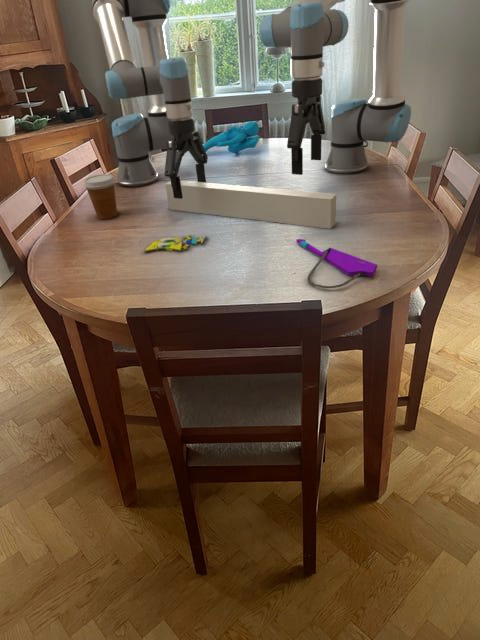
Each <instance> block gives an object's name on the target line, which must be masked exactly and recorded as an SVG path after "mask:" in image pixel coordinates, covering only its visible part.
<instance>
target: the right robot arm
mask: <svg viewBox="0 0 480 640" xmlns="http://www.w3.org/2000/svg"><path fill="white" fill-rule="evenodd" d="M345 1H346V0H294V1H293V2H292V3H290V4H289V5H288V6H287V7H285V9H283V10H282V11H281V12H279V13H277V14H275V13H272V14H268V15H265V16H264V17H263V18H262V19H261V22H260V24H259V31H258V32H259V38H260V41H261V44H262V45H263V46H264V47H265V48H268V49H276V50H277V49H285V48H286V49H287V48H290V77H291V78H292V81H290V82H291V85H290V87H291V88H290V89H291V97H292V98H296V99H297V104H291V116H290V122H289V123H290V124H289V128H288V129H289V130H288V138H287V143H286V148H287V149H290V151H291V152H290V153H291V175H297V176H302V175H303V174H304V172H303V171H304V168H303V167H304V163H303V162H304V160H303V159H304V158H303V156H304V155H303V153H304V152H303V150H304V149H303V147H302V144H303V140H304V136H305V131H306V129H307V128H306V127H307V124H308V125H309V127H310V130H311V133H312V134H311V135H310V160H311V161H321V160H322V135H325V134H326V127H325V120H324V114H323V107H322V94H323V79H322V78H321V77H322V76H323V67H325V62H324V61H323V60H324V58H323V57H324V47H328V46H331V47H333V46H335V45H337V44H339V43H341V42H342V41H343V40H344V39H345V38H346V37H347V35H348V33H349V26H350V25H349V19H348V16H347V14H346V13H344V11H343V10H340V9H336V8H333V7H334V6H336V4H340V3H343V2H345ZM410 1H411V0H369V5H370V6H371V7H372V8H373V9H374V37H373V38H374V39H373V40H374V41H373V42H374V43H373V45H374V47H373V84H372V87H373V88H372V96H371V97H370V98H369V99H368V102H367V99H366V98H365V97H364V98H363V97H359V98H352V99H347V100H342V101H339V102H336V103H334V104H333V105H332V107H331V113H330V146H329V147H330V148H329V151H328V154H327V156H326V160H325V161H324V170H325V171H327V172H329V173H331V174H337V175H338V174H339V175H350V174H351V175H352V174H358V173H362V172H364V171H366V170H367V169H368V159H367V155H366V151H365V148H367V147H368V146H369V142H380V143H381V142H382V143H399V142H400V141H401V140H402V139H403V138H404V136H405V134H406V133H407V130H408V128H409V125H410V121H411V116H412V109H411V108H412V107H411V106H410V105H409V104H406V96H404V94H403V93H402V75H403V60H404V59H403V57H404V42H405V41H404V40H405V24H406V23H405V22H406V6H407V4H408V3H409V2H410ZM368 141H369V142H368ZM364 143H365V145H364Z"/></svg>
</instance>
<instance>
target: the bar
mask: <svg viewBox="0 0 480 640" xmlns="http://www.w3.org/2000/svg"><path fill="white" fill-rule="evenodd" d="M180 183H181V189H182V196H183V198H182V199H179V198H174V195H173V189H172V186H171V180H170V181H168V182H166V183H164V184H165V191H166V197H167V203H168V209H169V211H178V212H179V211H181V212H187V213H195V214H203V215H204V214H205V215H213V216H221V217H229V218H236V219H245V220H246V219H247V220H254V221H262V222H269V223H277V224H279V223H280V224H287V225H294V226H303V227H311V228H319V229H328V230H331V229H332V228H333V227H334V226H335V225H336V223H337V222H336V221H337V193H330V192H320V191H319V192H318V191H307V190H306V191H305V190H295V189H283V188H273V187H263V186H262V187H261V186H249V185H239V184H226V183H216V182H206V183H205V182H198V181H192V180H181V179H180Z"/></svg>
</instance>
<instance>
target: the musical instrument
mask: <svg viewBox="0 0 480 640" xmlns="http://www.w3.org/2000/svg"><path fill="white" fill-rule="evenodd" d="M295 242H296V243H297V244H299V245H300V247H303V248H304V249H305V250H308V251H310V252H311V253H313V254H315V255H316V256H318V257H319V260H318V261H317V263H315V265H314V267H312V269H311V270H310V272H309V273H308V276H307V283H309V285H311V286H312V287H317V288H322V289H337V288H341V287H344V286H346V285H348V284H349V283H351V282H353V281H354V280H355V279H357V278H358V277H359V276H368V277H374V275H375V274H376V270H377V268H378V264H377V263H373V262H371V261H368V260H365V259H364V258H360V257H358V256H355V255H352V254H349V253H347V252H344V251H341V250H338V249H335V248H333V247H329V248H327V249H325V250H323V251H322V250H320V249H318V248H316V247H315V246H313V245H312V244H311V243H309V242H308V241H306V239H303V238H296V241H295ZM323 260H324V261H326V262H327V263H328V264H330V265H332V266H333V267H335V268H337V269H338V270H339V271H341V272H343V273H345V274H346V275H348V276H351V278H349V279H348V280H346V281H345V282H343V283H340V284H336V285H322V284H316V283H314V282H313V281H312V275H313V274H314V272H315V271H316V270H317V268H318V267H319V266H320V264H321V263H322V261H323Z"/></svg>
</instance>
